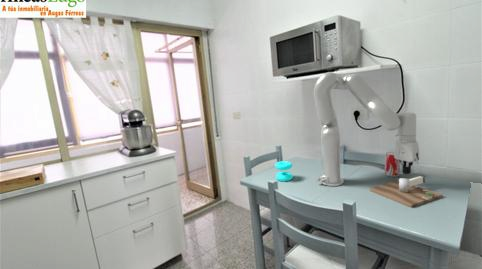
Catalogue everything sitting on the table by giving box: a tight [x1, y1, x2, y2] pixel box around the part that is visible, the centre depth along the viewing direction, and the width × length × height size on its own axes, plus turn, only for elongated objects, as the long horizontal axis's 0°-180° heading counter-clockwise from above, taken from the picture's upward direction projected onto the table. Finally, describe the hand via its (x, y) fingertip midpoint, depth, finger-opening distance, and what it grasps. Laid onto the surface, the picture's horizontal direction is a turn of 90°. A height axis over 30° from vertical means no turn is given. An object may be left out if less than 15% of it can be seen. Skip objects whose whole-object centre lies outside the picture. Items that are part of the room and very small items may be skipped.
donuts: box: [275, 160, 294, 182], centre depth 146 cm, size 10×10×10 cm
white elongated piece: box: [398, 175, 426, 192], centre depth 116 cm, size 15×4×5 cm, turn 110°
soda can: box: [384, 151, 401, 178], centre depth 137 cm, size 7×7×13 cm
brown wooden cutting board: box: [368, 179, 444, 209], centre depth 115 cm, size 21×21×2 cm
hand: (406, 173), depth 122 cm, fingers closed
